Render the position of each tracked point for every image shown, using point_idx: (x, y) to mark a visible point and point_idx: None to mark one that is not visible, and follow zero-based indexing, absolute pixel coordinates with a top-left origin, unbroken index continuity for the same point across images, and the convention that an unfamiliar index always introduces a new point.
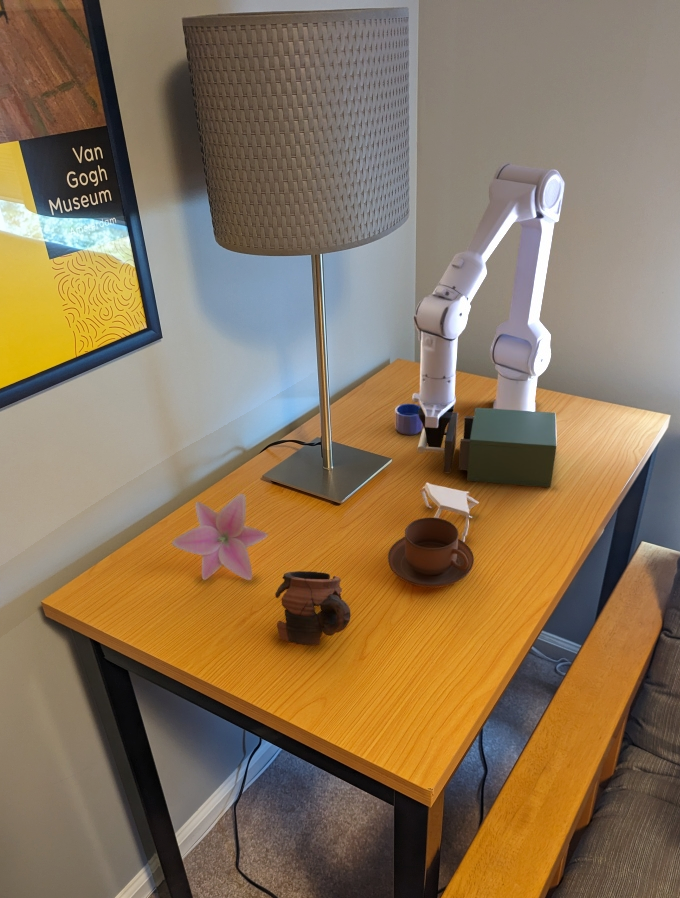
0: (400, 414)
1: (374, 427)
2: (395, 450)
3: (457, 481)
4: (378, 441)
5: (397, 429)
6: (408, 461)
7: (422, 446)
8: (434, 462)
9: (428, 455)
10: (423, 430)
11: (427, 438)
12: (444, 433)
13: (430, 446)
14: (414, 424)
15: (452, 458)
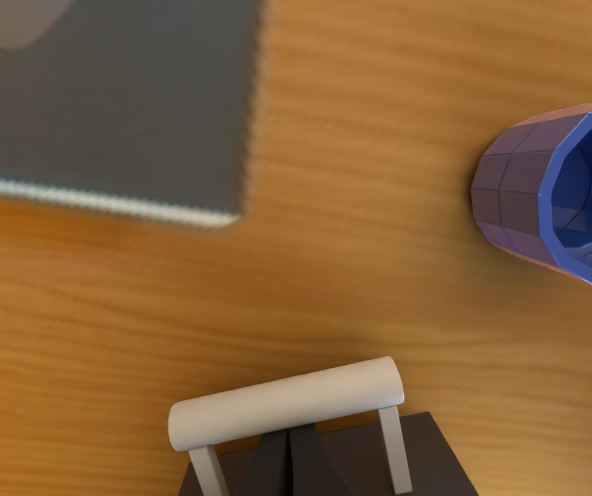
0: (554, 164)
1: (509, 3)
2: (317, 204)
3: None
4: (371, 89)
5: (491, 147)
6: (249, 291)
7: (173, 447)
8: None
9: (327, 347)
10: (360, 387)
11: (257, 451)
12: (388, 470)
13: None
14: (514, 244)
15: None
